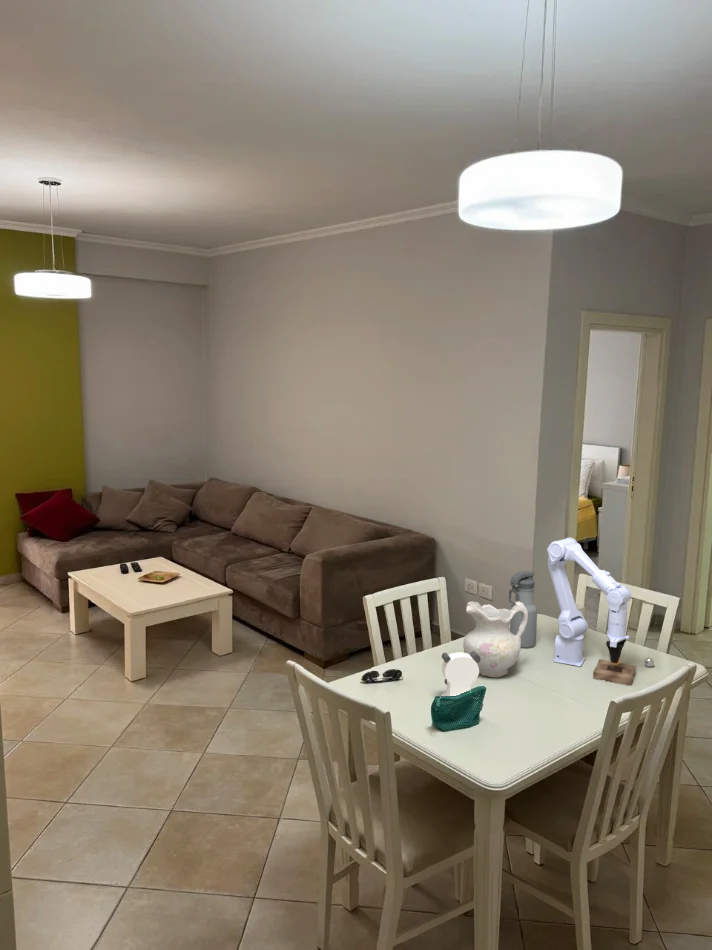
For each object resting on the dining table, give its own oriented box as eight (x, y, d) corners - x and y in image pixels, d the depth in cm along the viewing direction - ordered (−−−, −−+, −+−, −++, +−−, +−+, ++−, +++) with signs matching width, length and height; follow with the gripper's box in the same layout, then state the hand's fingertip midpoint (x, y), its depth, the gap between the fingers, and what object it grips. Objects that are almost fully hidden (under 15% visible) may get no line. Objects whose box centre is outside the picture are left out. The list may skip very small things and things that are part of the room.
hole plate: (593, 678, 245) (593, 671, 245) (599, 666, 256) (599, 659, 255) (630, 685, 239) (631, 678, 239) (635, 672, 250) (635, 665, 250)
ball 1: (609, 665, 246) (610, 656, 246) (611, 662, 249) (611, 653, 249) (619, 667, 245) (619, 658, 244) (620, 663, 248) (621, 654, 247)
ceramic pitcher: (509, 660, 264) (508, 592, 262) (538, 677, 245) (537, 604, 243) (454, 667, 257) (453, 598, 255) (480, 685, 238) (479, 611, 237)
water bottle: (518, 650, 270) (520, 577, 266) (503, 641, 279) (505, 570, 275) (541, 646, 273) (544, 574, 270) (526, 638, 282) (528, 568, 279)
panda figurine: (472, 690, 236) (473, 646, 234) (483, 706, 225) (485, 659, 223) (436, 692, 234) (437, 648, 232) (446, 708, 223) (447, 662, 221)
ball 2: (643, 667, 255) (643, 658, 254) (644, 664, 258) (645, 655, 257) (653, 668, 253) (653, 660, 253) (654, 665, 256) (654, 657, 256)
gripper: (626, 630, 237) (624, 670, 239) (632, 617, 249) (630, 655, 251) (604, 627, 240) (602, 666, 242) (611, 614, 253) (609, 651, 255)
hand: (615, 660), depth 247 cm, fingers closed on ball 1, 3 cm apart
